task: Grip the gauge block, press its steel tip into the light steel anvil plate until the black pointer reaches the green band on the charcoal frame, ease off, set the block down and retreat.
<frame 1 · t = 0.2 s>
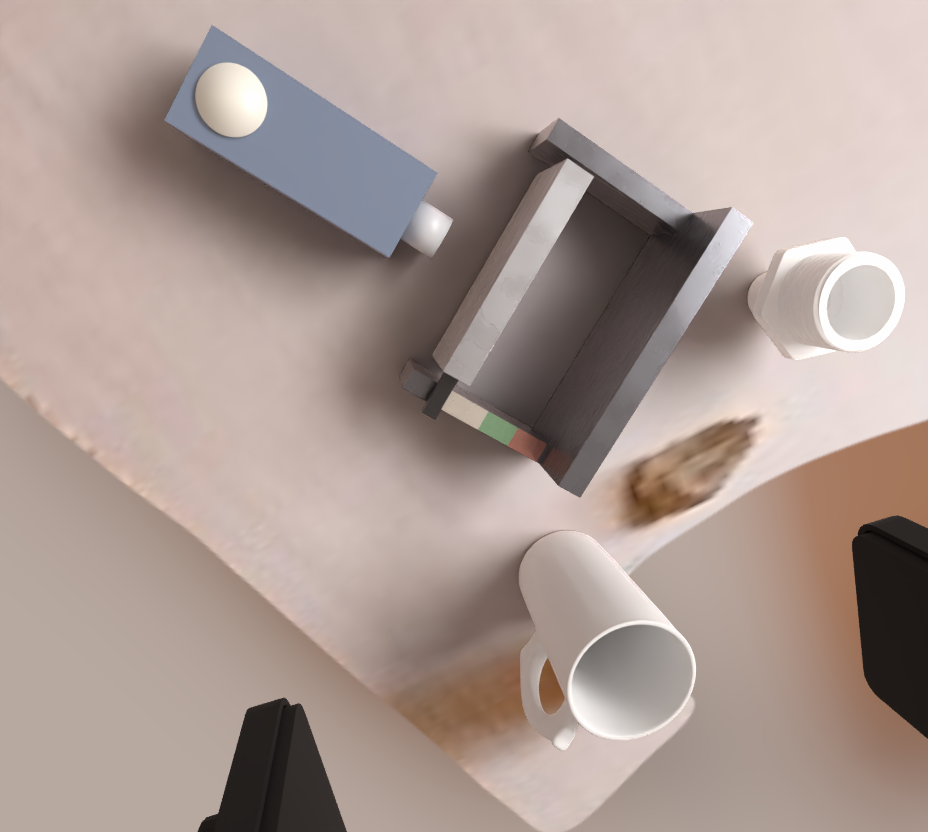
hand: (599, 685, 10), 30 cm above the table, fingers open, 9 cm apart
gauge block: (313, 162, 36), on the table
gauge frame: (481, 266, 39), on the table
mug: (547, 589, 44), on the table
anvil plate: (492, 295, 36), point 4 cm above the table, slide at 0.0 cm
pipe fitting: (768, 295, 42), on the table
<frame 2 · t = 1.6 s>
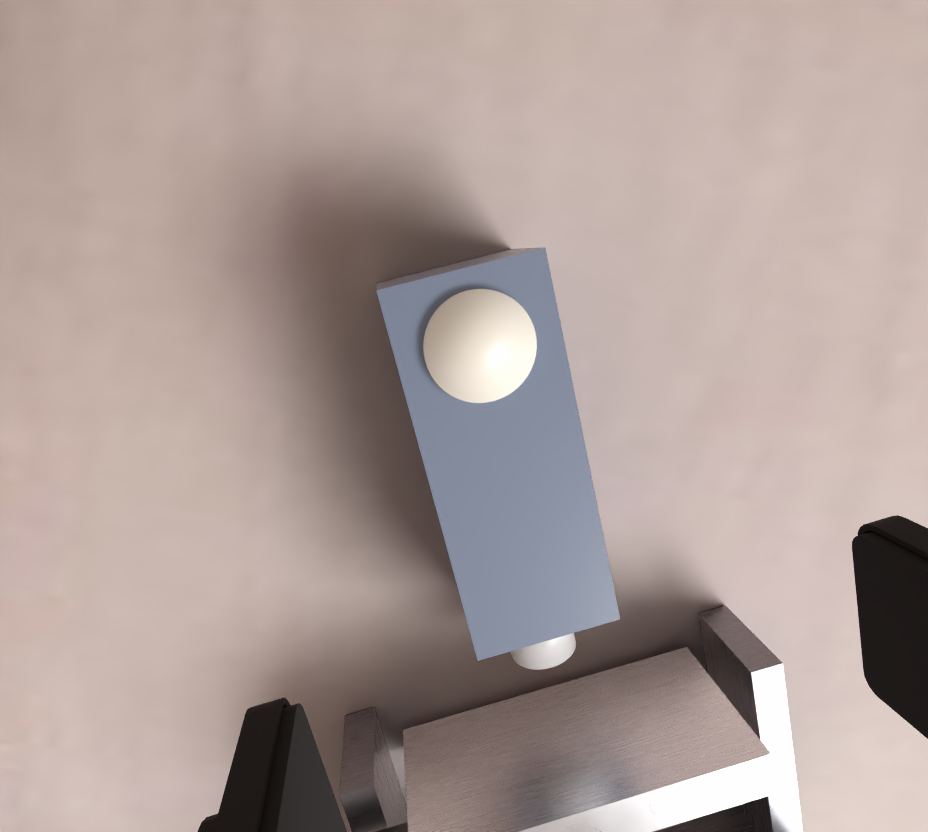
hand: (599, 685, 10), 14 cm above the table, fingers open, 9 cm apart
gauge block: (483, 426, 24), on the table
gauge frame: (543, 679, 27), on the table
anvil plate: (537, 768, 24), point 3 cm above the table, slide at 0.0 cm
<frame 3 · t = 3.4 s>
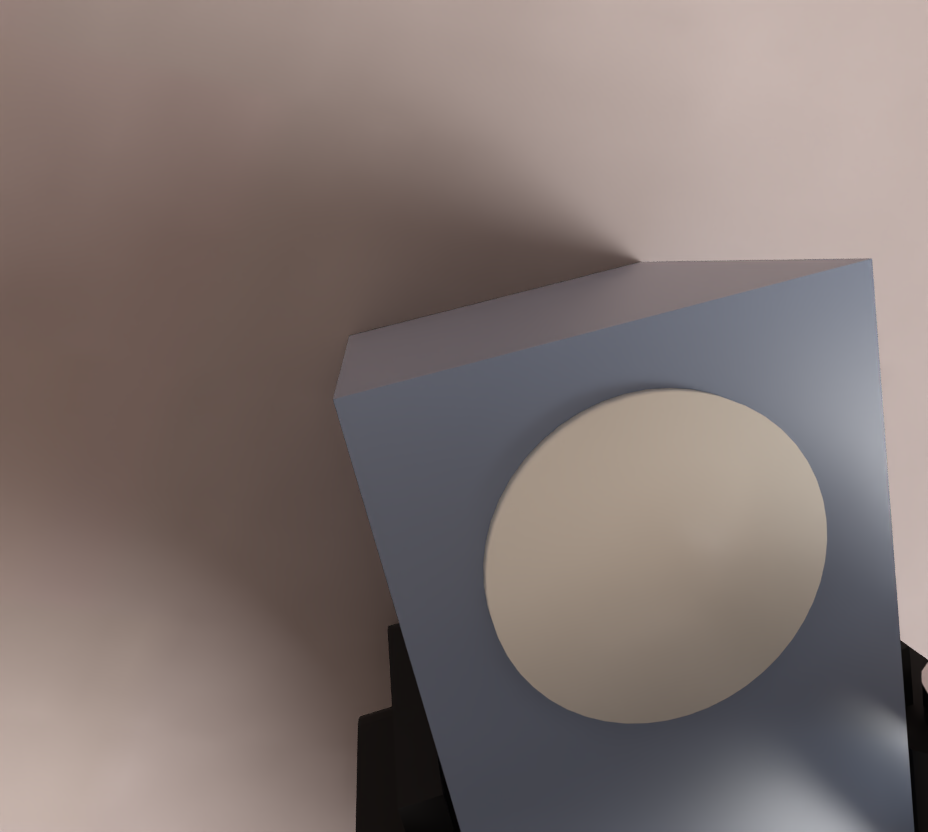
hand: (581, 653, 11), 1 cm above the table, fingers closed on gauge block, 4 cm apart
gauge block: (569, 624, 12), on the table, touching gripper
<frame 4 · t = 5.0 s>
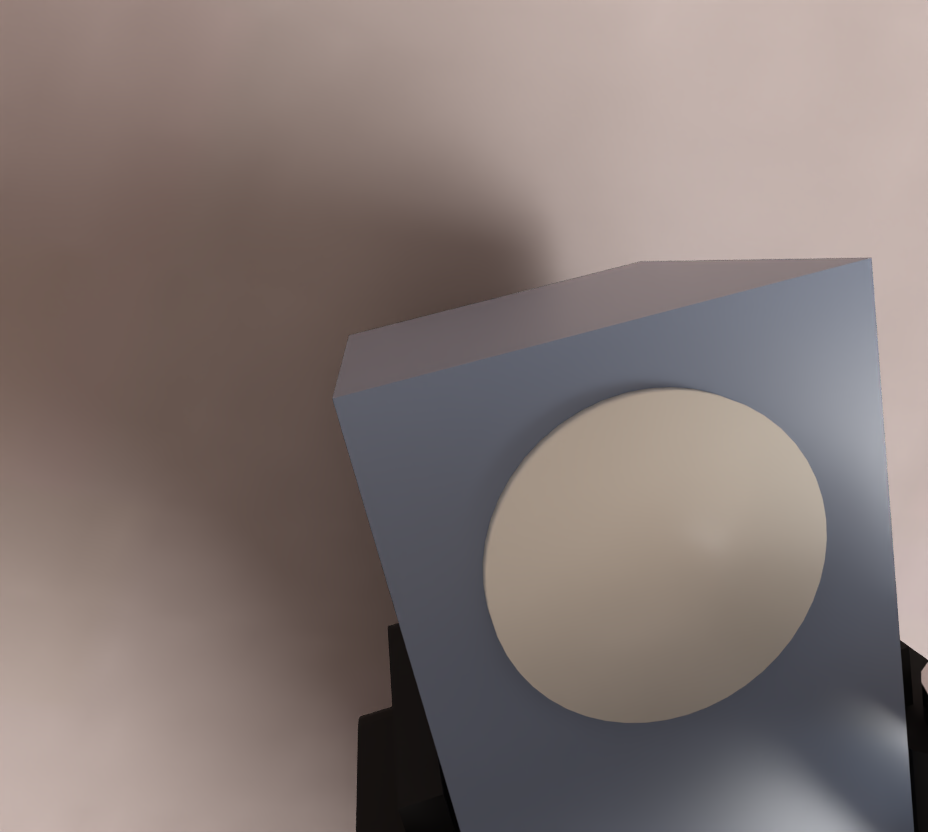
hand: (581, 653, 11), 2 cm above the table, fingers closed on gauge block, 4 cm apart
gauge block: (569, 624, 12), point 1 cm above the table, touching gripper
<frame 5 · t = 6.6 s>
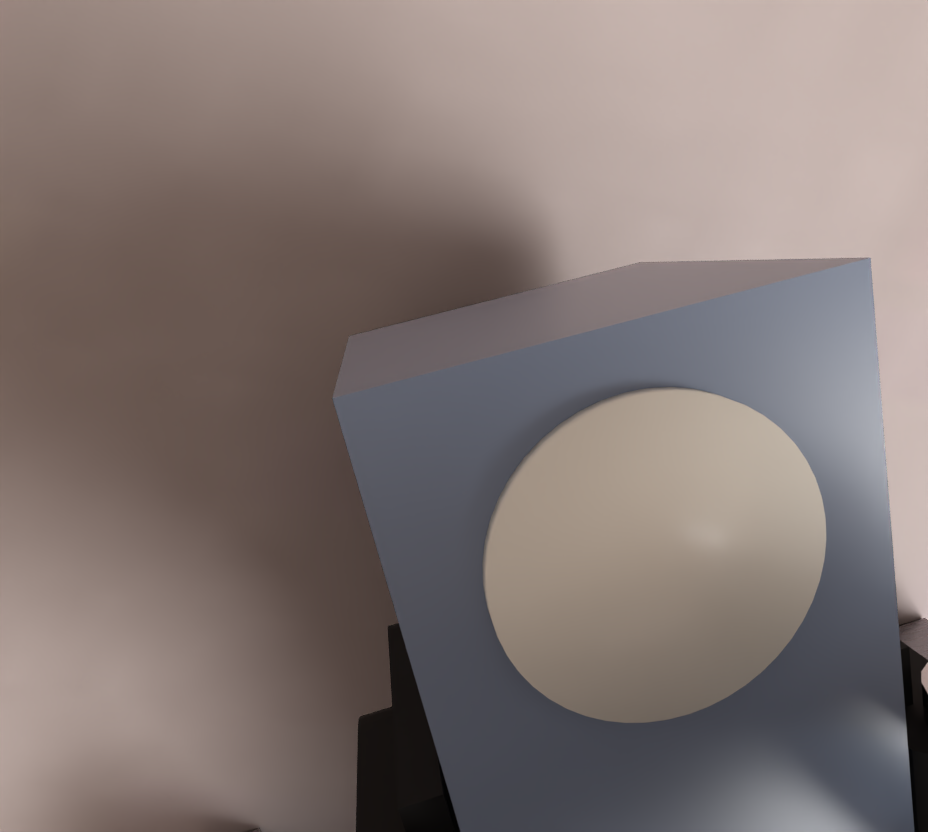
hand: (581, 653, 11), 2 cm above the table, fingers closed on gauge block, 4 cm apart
gauge block: (569, 625, 12), point 1 cm above the table, touching anvil plate, gripper
gauge frame: (589, 764, 14), on the table
when the fingers open (1 cm above the table, at t = 8.5 s): gauge block drops 1 cm, on the table.
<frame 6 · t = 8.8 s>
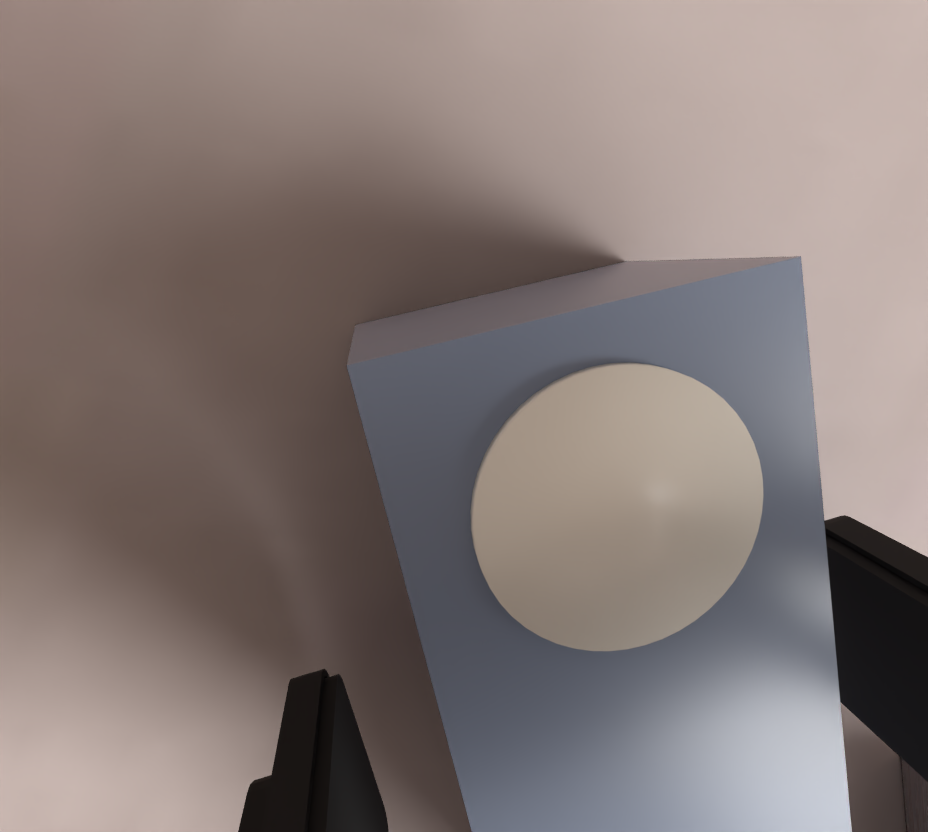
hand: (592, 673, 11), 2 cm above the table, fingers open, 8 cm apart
gauge block: (553, 594, 13), on the table
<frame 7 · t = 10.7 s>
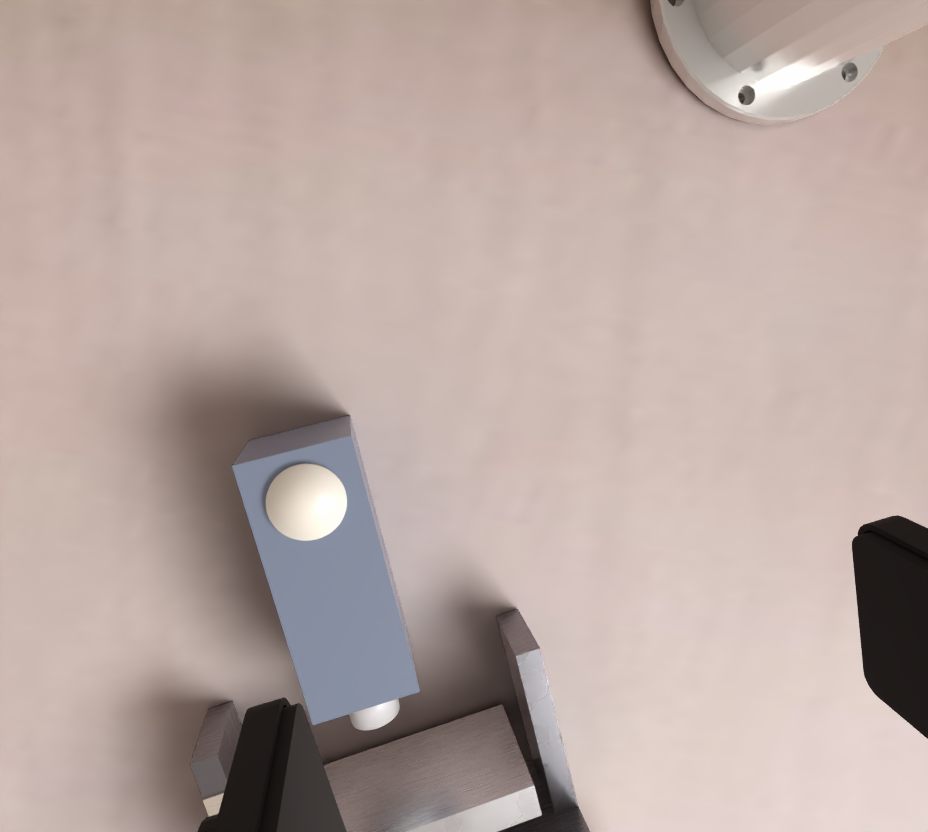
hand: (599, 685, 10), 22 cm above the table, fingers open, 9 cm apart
gauge block: (333, 542, 32), on the table
gauge frame: (373, 674, 34), on the table
anvil plate: (374, 806, 31), point 3 cm above the table, slide at 3.7 cm
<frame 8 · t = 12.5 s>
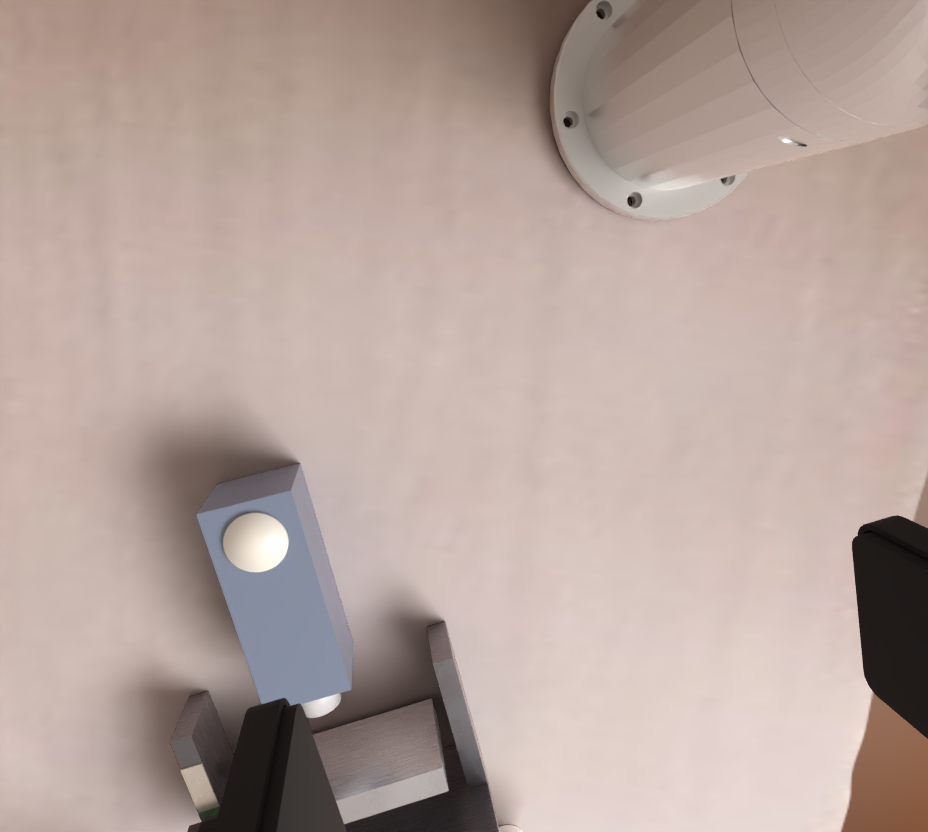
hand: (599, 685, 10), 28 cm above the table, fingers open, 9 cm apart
gauge block: (288, 564, 39), on the table
gauge frame: (323, 672, 41), on the table
anvil plate: (319, 778, 38), point 3 cm above the table, slide at 3.7 cm
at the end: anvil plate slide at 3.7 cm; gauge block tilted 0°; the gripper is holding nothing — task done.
